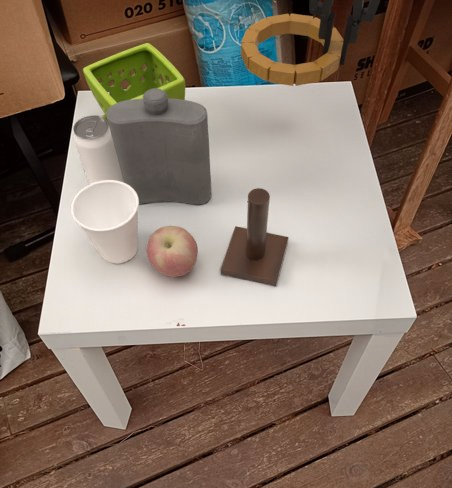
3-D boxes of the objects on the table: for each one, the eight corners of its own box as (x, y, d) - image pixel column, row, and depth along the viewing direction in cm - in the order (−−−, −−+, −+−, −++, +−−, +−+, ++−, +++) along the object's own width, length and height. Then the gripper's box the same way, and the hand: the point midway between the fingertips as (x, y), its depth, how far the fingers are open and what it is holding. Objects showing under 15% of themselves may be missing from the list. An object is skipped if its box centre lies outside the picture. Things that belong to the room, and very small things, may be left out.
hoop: (347, 33, 86) (349, 21, 84) (332, 92, 78) (334, 79, 76) (255, 21, 88) (255, 8, 86) (231, 76, 80) (231, 63, 78)
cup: (134, 281, 79) (121, 238, 70) (78, 265, 81) (58, 220, 72) (158, 234, 84) (149, 188, 75) (105, 220, 86) (89, 173, 76)
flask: (212, 181, 90) (207, 82, 73) (211, 206, 87) (205, 108, 70) (129, 180, 91) (105, 82, 74) (125, 204, 88) (99, 108, 71)
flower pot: (158, 99, 102) (149, 39, 92) (193, 138, 96) (188, 79, 85) (96, 124, 99) (79, 65, 88) (127, 167, 92) (113, 109, 82)
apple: (140, 268, 81) (132, 237, 74) (174, 240, 83) (169, 207, 77) (176, 296, 78) (170, 266, 71) (209, 265, 81) (207, 234, 74)
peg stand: (287, 242, 83) (297, 179, 71) (276, 286, 78) (284, 227, 66) (235, 231, 84) (235, 167, 72) (220, 274, 80) (218, 213, 67)
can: (85, 193, 89) (66, 140, 79) (92, 167, 92) (74, 113, 82) (122, 194, 89) (107, 140, 79) (127, 168, 92) (113, 113, 82)
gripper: (298, -114, 61) (282, 65, 81) (427, -102, 58) (378, 79, 78) (309, -138, 64) (292, 39, 85) (431, -128, 62) (383, 52, 82)
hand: (333, 58), depth 81 cm, fingers closed on hoop, 2 cm apart
